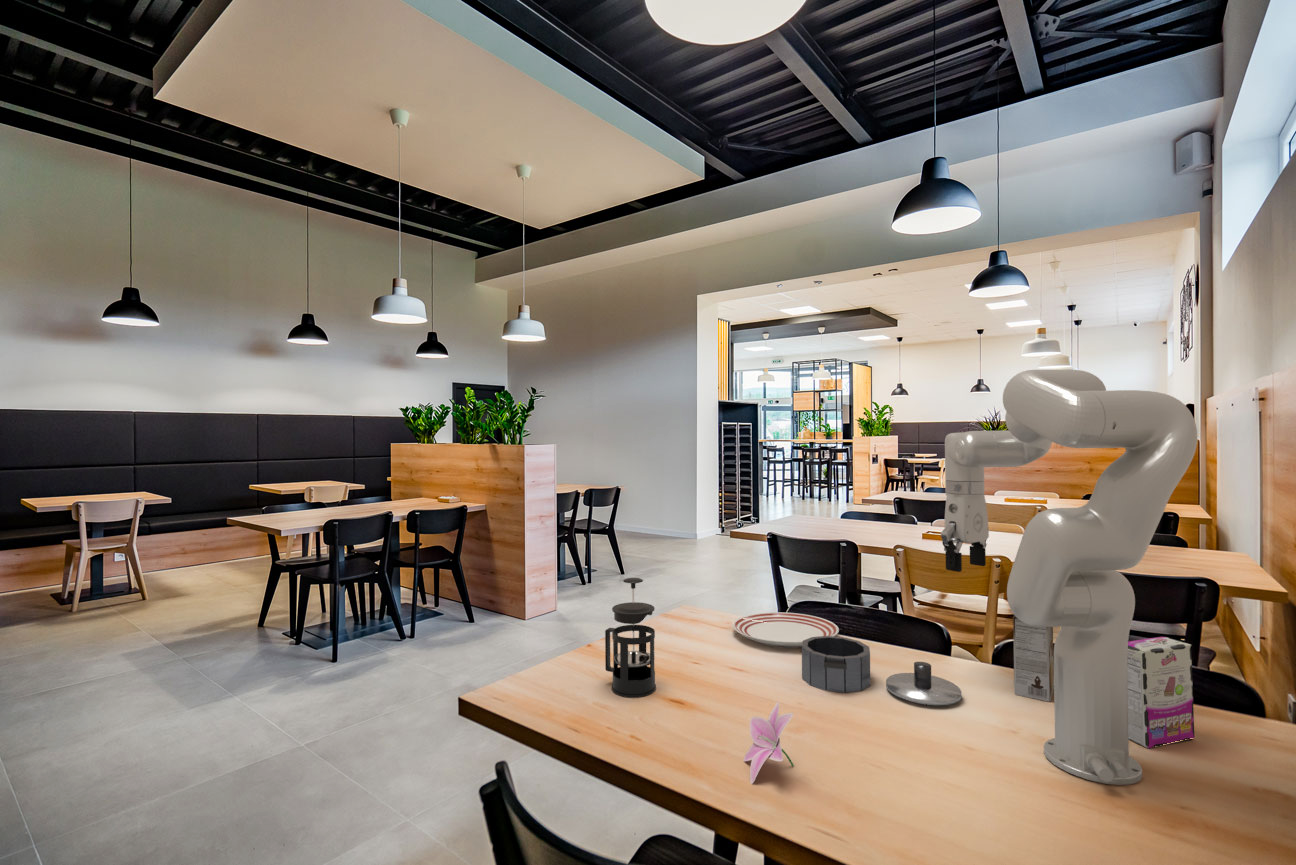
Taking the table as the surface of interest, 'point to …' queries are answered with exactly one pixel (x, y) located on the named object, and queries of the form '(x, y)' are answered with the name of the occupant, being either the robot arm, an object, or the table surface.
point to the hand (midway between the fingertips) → (965, 567)
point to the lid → (923, 687)
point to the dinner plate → (783, 628)
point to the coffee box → (1033, 661)
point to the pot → (836, 664)
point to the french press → (631, 661)
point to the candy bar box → (1159, 691)
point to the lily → (766, 740)
